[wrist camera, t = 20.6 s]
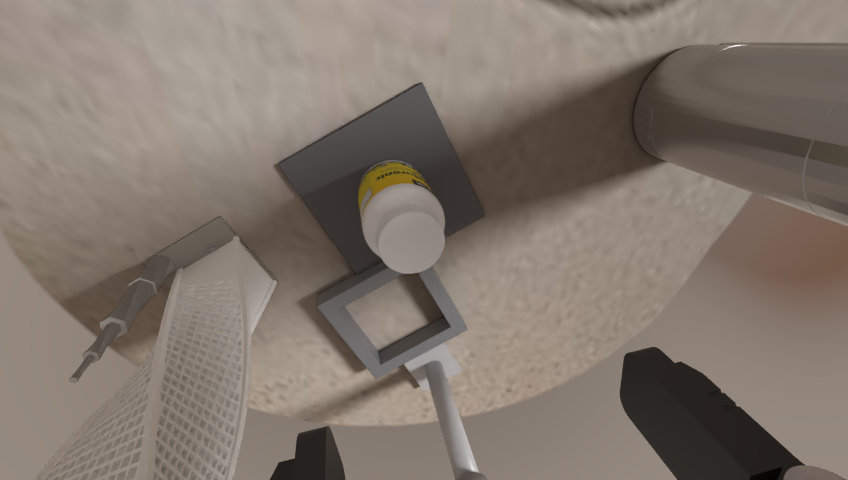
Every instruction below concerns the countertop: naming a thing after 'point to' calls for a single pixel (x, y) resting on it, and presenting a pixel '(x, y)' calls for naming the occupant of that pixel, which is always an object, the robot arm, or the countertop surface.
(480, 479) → the yellow lever
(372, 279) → the socket
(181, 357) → the skyscraper
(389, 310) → the countertop surface
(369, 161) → the mat
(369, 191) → the supplement bottle
